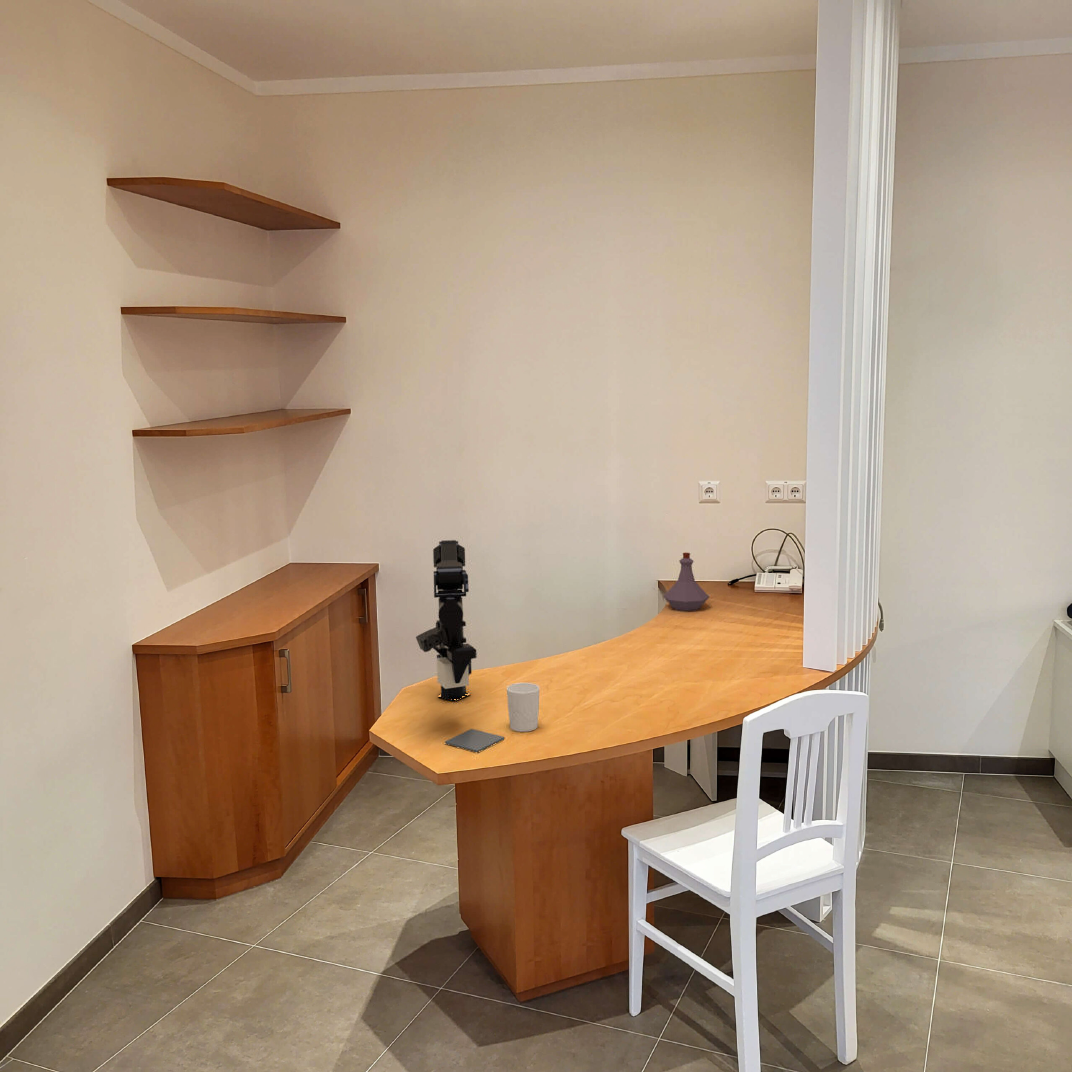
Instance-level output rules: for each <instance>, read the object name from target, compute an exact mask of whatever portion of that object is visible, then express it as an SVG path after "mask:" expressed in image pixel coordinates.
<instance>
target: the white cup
mask: <svg viewBox="0 0 1072 1072" xmlns="http://www.w3.org/2000/svg"><path fill="white" fill-rule="evenodd" d="M506 695H507V696H506V698H507V709H508V719H509V728H510V729H511V731H515V732H520V733H525V732H532V730H533V731H535V730H536V729H537V728H538V726H539V710H540V686H539V685H538V684H536V683H531V682H517V683H512V684H510V685H508V686H506Z"/></svg>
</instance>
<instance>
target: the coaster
mask: <svg viewBox="0 0 1072 1072" xmlns="http://www.w3.org/2000/svg"><path fill="white" fill-rule="evenodd" d="M504 739H506V738H505V736H502V735H499V734H494V733H490V732H487V731H482V730H479V729H478V730H477V729H474V728H470V729H468V730H466V731H464V732H462V733H460V734H457V735H455V736H454V737H451V738H449V739H447V740H444V743H446V744H449V745H453V746H456V747H455V748H457V747H459V748H458V749H460V748H464V749H467V750H466V751H468V750H471V751H470V752H472V751H474V752H473V753H475V752H477V753H476V754H479V753H480V752H479V751H481V750H483V751H485V750H487V749H488V748H487V747H489V746H491V745H493V744H495V743H497V744H499V743H500V742H499V741H501V740H503V741H504ZM498 742H499V743H498ZM501 742H502V741H501ZM444 743H443V744H444ZM446 744H445V745H446ZM449 745H448V746H449ZM495 745H496V744H495ZM453 746H452V747H453ZM493 746H494V745H493ZM491 747H492V746H491ZM486 748H487V749H486ZM489 748H490V747H489ZM464 749H463V750H464ZM484 749H485V750H484ZM478 752H479V753H478ZM481 752H482V751H481Z"/></svg>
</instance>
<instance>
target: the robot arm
mask: <svg viewBox="0 0 1072 1072" xmlns="http://www.w3.org/2000/svg"><path fill="white" fill-rule="evenodd" d="M432 554H433V555H432V556H433V558H432V559H433V560H432V561H433V562H432V563H433V568H435V569H436V570H434V571H433V597H434V598H435V599H436V598H438V613H437V614H438V620H436V622H435V627H434V628H431V629H428V630H426V631H424V632H422V633H419V634H418V635H416V637H415V639H416V642H417V644H418V647H419V648H420V650H422V651H423V652H424V653H428V652H430V651H431V650H432V649H433V650H434V651H436V653H438V654H436V659H437V658H444V657H445V658H446V659H447V660H448V661H450V662H451V664H452V670H453V675H454V680H455V683H456V684H457V683H460V681H461V679H462V677H463V674H464V672H465V670H466V668H467V666H468V671H469V676H470V675H472V659H476V658H477V657H478V655H477V654H478V653H477V649H476V648H475V647H474V646H472V645H471V644H470V643H467V638H466V637H465V636H464V627H466V626H467V625H466V621H465V620H464V607H463V605H464V604H463V597H467V593H469V592H470V591H469V574H468V573H467V570H466V569H464V568H463V567H466V549H465V547H464V546H462V545H460V544H459V540H456V539H450V540H441V541H438V545H437V546H436V547H434V548H433V550H432ZM466 692H467V686H461V687H454V688H448V689H445V688H444V687H443V686H441V685H440V694H441V697H442V698H446V699H452V700H454V699H456V700H457V699H460V698H462V696H467V695H465V694H468V693H469V692H468V693H466ZM467 697H468V696H467ZM442 698H441V699H442ZM446 699H445V700H446ZM460 700H461V699H460Z"/></svg>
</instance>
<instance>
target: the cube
mask: <svg viewBox="0 0 1072 1072" xmlns="http://www.w3.org/2000/svg"><path fill="white" fill-rule="evenodd" d="M436 672H437V673H436V676H437V677H436V678H437V679H436V680H437V683H438V684H439V685H440V687H441V686H443V687H444V688H445V689H448V688H454V687H461V686H466V687H467V686H468V687H469V685H470V675H469V671H468V666H467V668H466V670H465V672H464V674H463V677H462V679H461V681H460V683H457V684H456V683H455V680H454V675H453V670H452V664H451V662H450V661H448V660H447V659H446V658H445V657H444V658H437V657H436Z"/></svg>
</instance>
